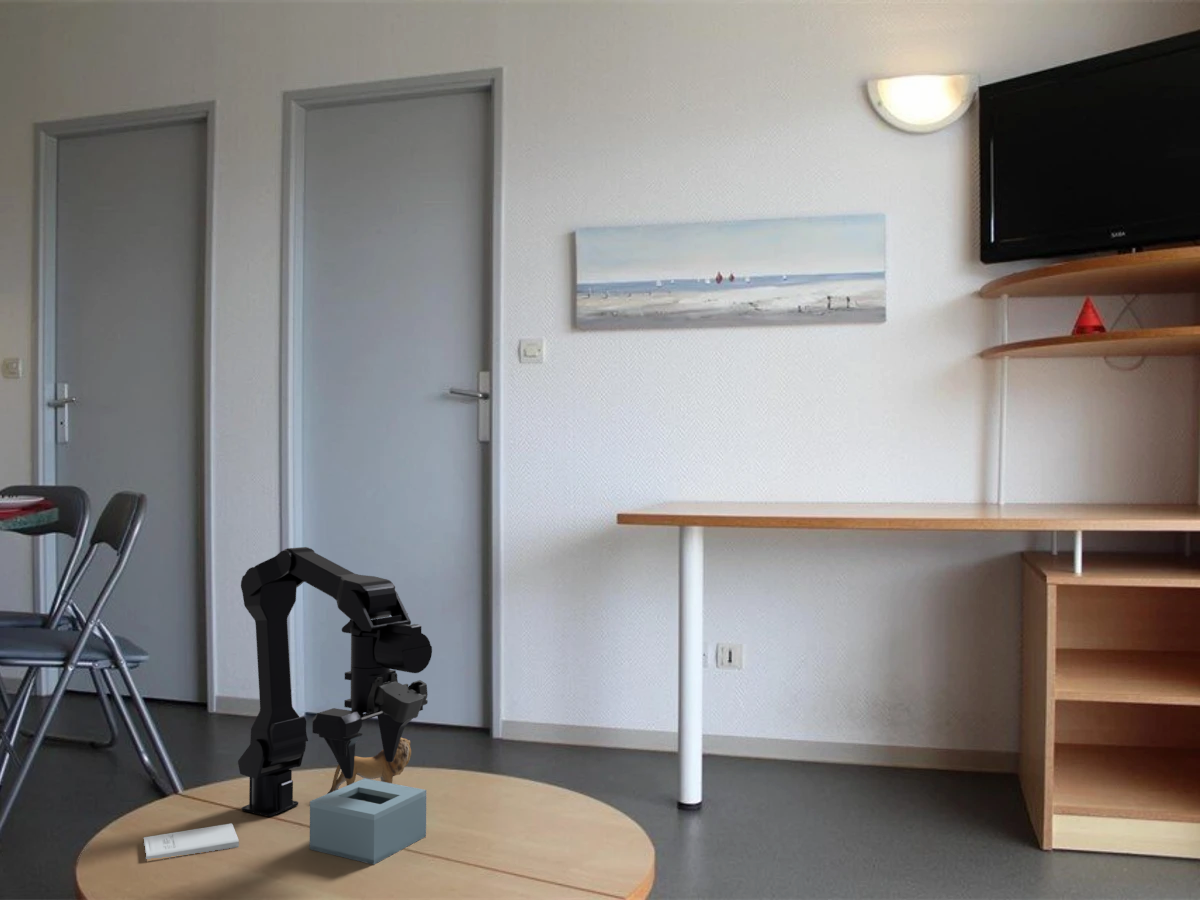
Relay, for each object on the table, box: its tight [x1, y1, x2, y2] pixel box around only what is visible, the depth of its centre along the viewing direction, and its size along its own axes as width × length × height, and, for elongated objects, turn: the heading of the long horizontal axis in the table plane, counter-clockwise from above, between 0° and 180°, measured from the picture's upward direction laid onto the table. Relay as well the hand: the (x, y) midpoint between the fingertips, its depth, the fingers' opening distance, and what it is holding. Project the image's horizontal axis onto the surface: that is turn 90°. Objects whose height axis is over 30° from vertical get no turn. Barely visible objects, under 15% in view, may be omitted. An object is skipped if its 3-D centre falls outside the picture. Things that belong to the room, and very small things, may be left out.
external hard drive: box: [143, 822, 240, 860], centre depth 146 cm, size 2×8×12 cm
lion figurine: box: [326, 737, 412, 794], centre depth 169 cm, size 15×5×9 cm, turn 116°
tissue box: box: [309, 778, 427, 865], centre depth 147 cm, size 12×12×7 cm
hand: (369, 769), depth 147 cm, fingers open, 9 cm apart
